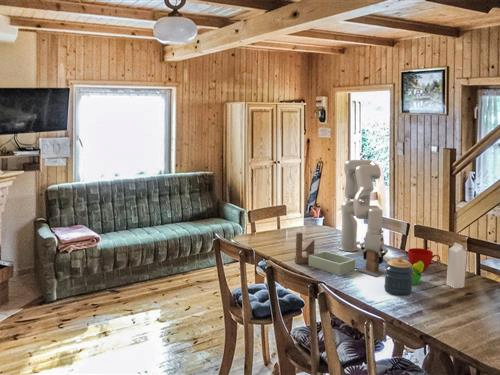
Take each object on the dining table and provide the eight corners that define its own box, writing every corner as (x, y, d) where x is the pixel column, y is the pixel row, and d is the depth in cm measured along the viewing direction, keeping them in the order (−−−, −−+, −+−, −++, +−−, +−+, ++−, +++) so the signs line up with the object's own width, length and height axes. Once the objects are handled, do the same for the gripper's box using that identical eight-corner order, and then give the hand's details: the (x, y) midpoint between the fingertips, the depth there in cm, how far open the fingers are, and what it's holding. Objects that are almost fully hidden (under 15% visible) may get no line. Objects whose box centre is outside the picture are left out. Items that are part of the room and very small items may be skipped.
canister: (408, 298, 215) (410, 262, 212) (380, 292, 222) (382, 257, 219) (414, 290, 226) (416, 255, 223) (388, 284, 233) (390, 251, 230)
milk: (456, 283, 235) (459, 242, 232) (464, 287, 230) (467, 245, 226) (445, 284, 234) (449, 242, 231) (453, 288, 228) (457, 245, 225)
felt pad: (369, 266, 262) (369, 265, 262) (389, 271, 252) (389, 270, 252) (355, 271, 253) (355, 269, 253) (375, 277, 244) (376, 276, 244)
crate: (323, 260, 272) (324, 250, 271) (354, 269, 255) (355, 259, 254) (308, 265, 262) (308, 255, 261) (339, 275, 246) (339, 264, 245)
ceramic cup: (439, 274, 249) (440, 256, 248) (406, 270, 255) (408, 253, 253) (438, 267, 261) (439, 250, 260) (407, 263, 267) (408, 247, 266)
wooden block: (313, 262, 267) (314, 232, 264) (296, 264, 264) (297, 233, 262) (311, 261, 270) (312, 231, 268) (294, 262, 268) (295, 232, 265)
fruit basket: (404, 277, 244) (405, 256, 243) (422, 278, 242) (423, 258, 240) (405, 284, 234) (406, 263, 232) (423, 286, 231) (425, 264, 229)
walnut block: (370, 268, 256) (372, 247, 254) (378, 270, 253) (379, 249, 251) (365, 270, 253) (366, 249, 251) (373, 272, 249) (374, 251, 247)
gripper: (392, 232, 245) (390, 263, 248) (364, 227, 258) (363, 256, 261) (384, 235, 240) (382, 266, 243) (357, 229, 253) (355, 259, 256)
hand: (372, 261), depth 252 cm, fingers open, 9 cm apart
